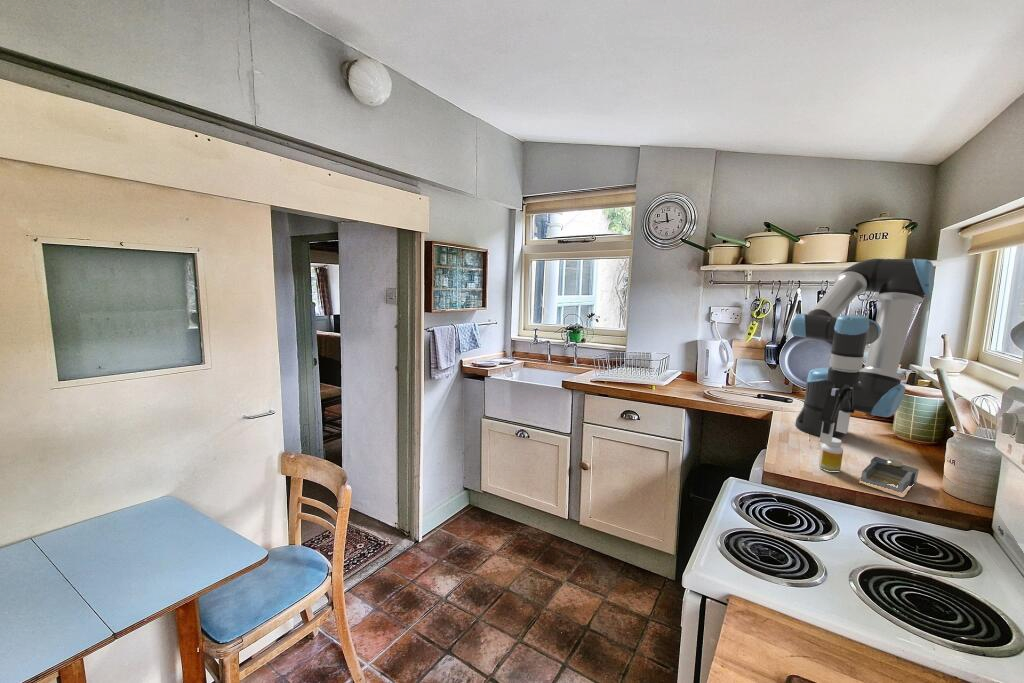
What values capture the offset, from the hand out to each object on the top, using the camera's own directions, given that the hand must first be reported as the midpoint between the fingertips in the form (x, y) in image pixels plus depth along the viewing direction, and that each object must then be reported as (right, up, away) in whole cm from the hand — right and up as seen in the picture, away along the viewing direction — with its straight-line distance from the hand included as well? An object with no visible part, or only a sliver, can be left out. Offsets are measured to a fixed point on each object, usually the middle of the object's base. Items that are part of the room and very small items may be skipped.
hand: (833, 437), depth 130 cm
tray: (+11, -12, -5) cm, 17 cm away
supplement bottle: (0, -10, +2) cm, 11 cm away
